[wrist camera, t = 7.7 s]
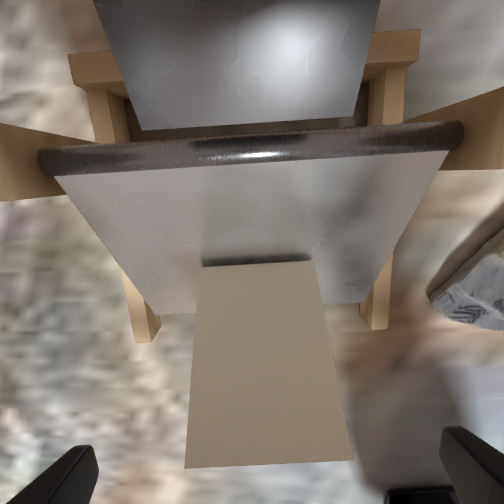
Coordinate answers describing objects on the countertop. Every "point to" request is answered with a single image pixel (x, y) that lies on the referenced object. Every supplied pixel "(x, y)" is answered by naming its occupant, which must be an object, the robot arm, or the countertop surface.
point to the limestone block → (263, 370)
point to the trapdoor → (248, 148)
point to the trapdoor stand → (379, 113)
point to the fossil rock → (476, 288)
